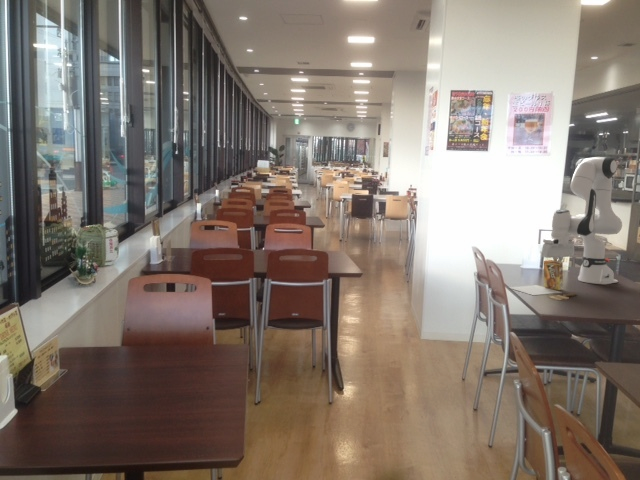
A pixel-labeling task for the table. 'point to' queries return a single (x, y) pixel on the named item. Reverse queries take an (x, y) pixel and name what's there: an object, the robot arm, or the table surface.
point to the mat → (535, 290)
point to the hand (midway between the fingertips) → (557, 265)
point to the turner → (563, 296)
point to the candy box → (553, 274)
